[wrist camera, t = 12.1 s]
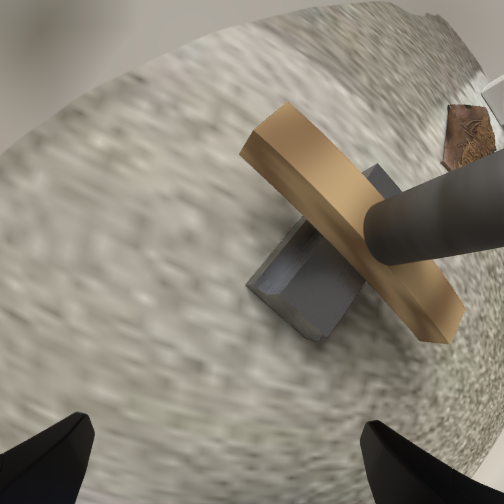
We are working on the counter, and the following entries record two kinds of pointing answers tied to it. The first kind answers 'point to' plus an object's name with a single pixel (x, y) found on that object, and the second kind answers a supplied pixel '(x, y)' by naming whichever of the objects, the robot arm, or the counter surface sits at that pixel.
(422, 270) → the tan grey t-shaped tool
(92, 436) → the robot arm
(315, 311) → the ridge stand
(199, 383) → the counter surface
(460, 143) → the wooden fragment
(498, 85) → the milk carton
